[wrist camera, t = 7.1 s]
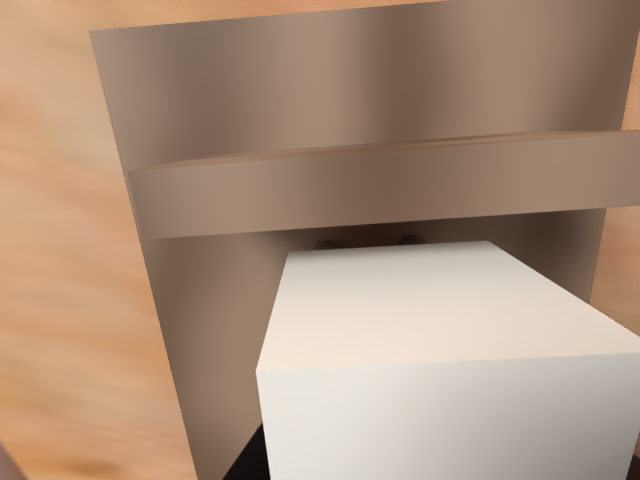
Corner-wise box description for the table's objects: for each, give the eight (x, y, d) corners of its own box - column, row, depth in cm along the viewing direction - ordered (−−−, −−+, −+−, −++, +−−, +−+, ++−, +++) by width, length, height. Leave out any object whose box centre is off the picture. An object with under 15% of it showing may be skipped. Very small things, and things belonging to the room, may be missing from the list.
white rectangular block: (466, 465, 11) (565, 690, 6) (309, 472, 11) (301, 698, 6) (487, 240, 8) (662, 352, 4) (288, 251, 8) (256, 371, 4)
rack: (617, -3, 10) (982, -170, 5) (538, 477, 16) (656, 662, 11) (109, 40, 11) (-132, -69, 5) (212, 494, 17) (157, 681, 11)
